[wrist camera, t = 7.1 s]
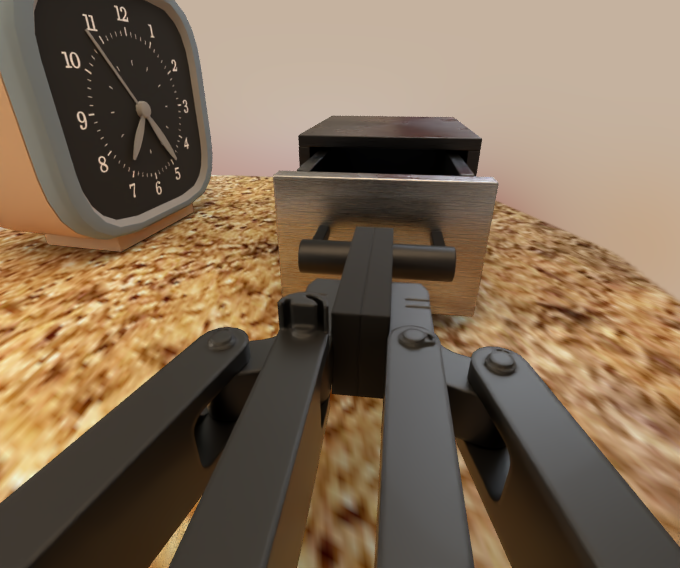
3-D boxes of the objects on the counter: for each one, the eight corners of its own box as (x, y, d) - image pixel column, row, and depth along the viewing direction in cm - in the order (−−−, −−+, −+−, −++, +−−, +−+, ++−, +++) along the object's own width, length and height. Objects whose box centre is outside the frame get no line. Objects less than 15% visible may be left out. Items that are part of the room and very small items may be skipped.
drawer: (488, 364, 19) (523, 208, 15) (260, 345, 20) (243, 197, 17) (447, 231, 36) (459, 140, 32) (322, 225, 37) (321, 137, 33)
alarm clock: (90, 276, 29) (-39, -117, 19) (-12, 264, 31) (-178, -101, 21) (222, 201, 47) (190, -24, 37) (151, 196, 49) (103, -20, 39)
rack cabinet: (461, 268, 31) (482, 138, 26) (303, 259, 32) (298, 134, 28) (442, 209, 45) (454, 117, 40) (332, 204, 46) (331, 115, 42)
